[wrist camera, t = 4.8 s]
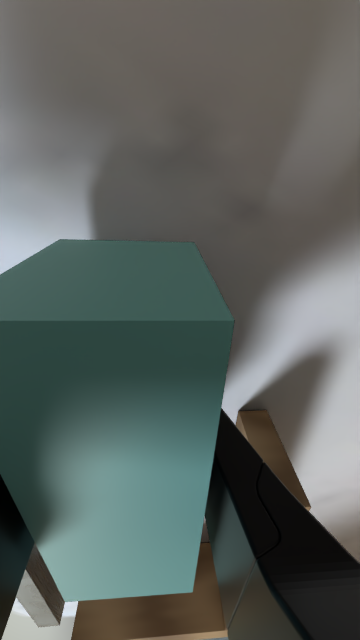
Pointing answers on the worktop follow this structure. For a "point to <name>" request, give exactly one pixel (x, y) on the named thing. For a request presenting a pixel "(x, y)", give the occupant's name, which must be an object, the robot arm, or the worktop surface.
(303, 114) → the worktop surface
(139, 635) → the tan wooden l-shaped piece
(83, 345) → the teal rectangular block
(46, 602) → the bookend
